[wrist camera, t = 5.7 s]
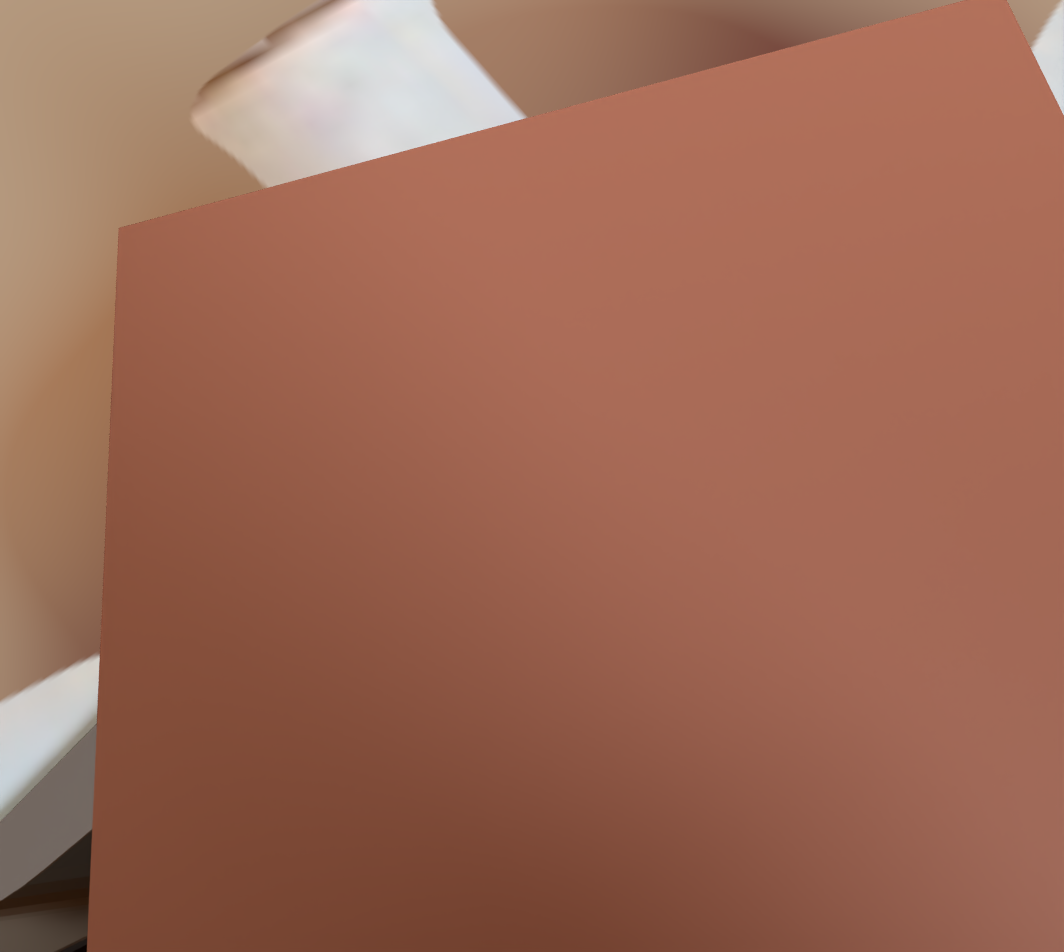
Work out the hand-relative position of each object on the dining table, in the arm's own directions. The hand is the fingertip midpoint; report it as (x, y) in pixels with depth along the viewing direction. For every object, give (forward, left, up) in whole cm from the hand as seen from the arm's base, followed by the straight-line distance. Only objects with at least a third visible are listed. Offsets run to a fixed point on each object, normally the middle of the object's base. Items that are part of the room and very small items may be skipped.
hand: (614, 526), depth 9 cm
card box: (-1, +1, -7) cm, 7 cm away
